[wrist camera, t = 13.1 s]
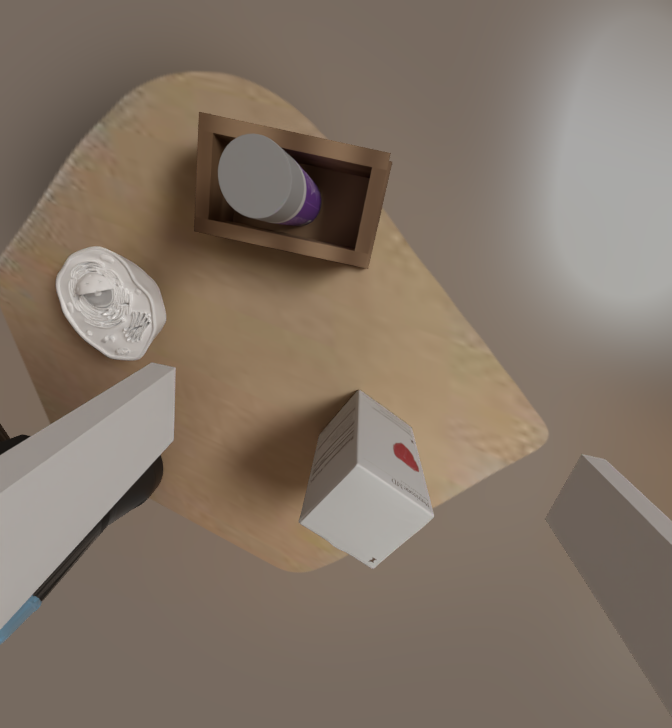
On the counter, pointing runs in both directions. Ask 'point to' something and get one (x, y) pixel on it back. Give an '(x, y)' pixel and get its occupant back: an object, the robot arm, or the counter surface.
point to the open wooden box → (329, 172)
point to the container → (267, 182)
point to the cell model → (110, 302)
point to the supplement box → (366, 483)
